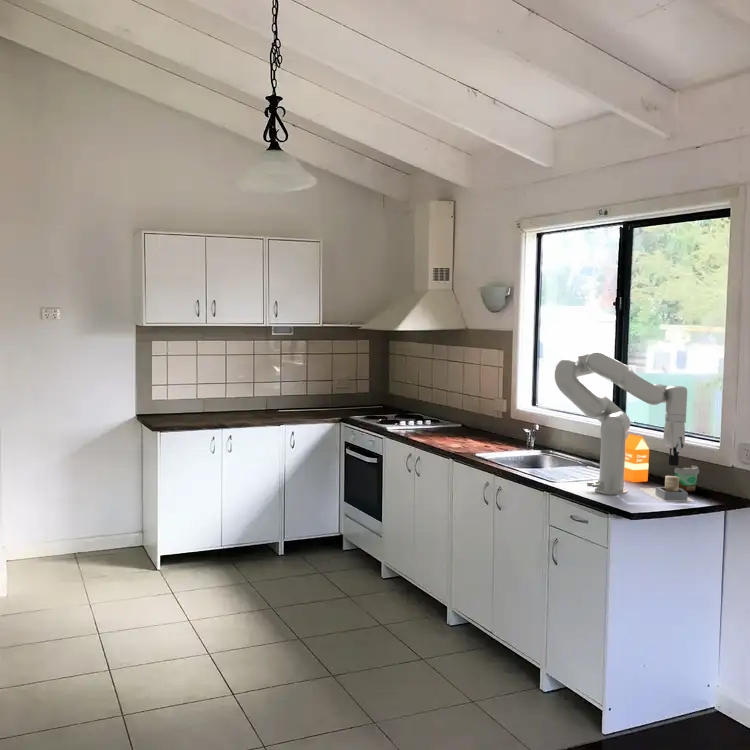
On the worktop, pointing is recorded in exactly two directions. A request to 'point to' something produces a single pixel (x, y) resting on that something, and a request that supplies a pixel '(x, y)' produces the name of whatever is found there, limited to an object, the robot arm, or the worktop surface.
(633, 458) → the orange juice
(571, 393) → the robot arm
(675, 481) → the plug
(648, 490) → the board
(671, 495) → the grey square tray
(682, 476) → the food container
